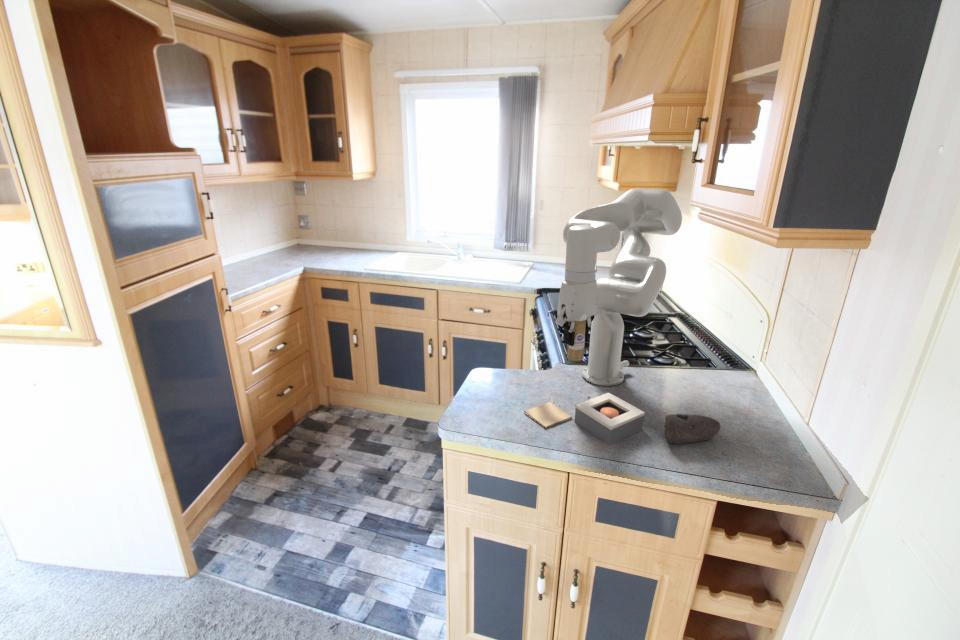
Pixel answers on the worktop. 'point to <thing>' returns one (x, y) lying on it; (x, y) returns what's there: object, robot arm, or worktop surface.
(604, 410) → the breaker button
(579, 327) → the sprinkles bottle
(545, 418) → the coaster
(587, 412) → the grey square open box
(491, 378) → the worktop surface
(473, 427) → the worktop surface
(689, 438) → the perforated stone tool
